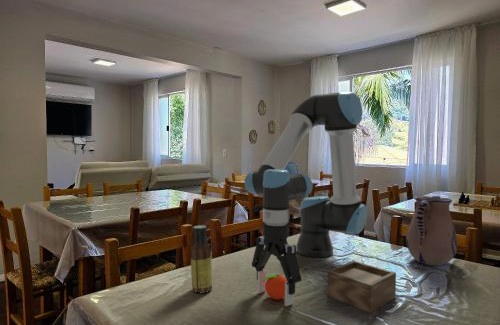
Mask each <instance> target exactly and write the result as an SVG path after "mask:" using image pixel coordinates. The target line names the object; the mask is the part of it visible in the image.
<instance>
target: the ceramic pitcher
mask: <svg viewBox="0 0 500 325" xmlns="http://www.w3.org/2000/svg"><path fill="white" fill-rule="evenodd" d="M413 199H414V200H415V202H416V208H415V209H414V213H413V216H412V219H411V221H410V224H409V225H408V226H409V227H408V230H407V231H406V237H405V242H406V247H407V249H408V252H409V254H410V255H411V256H412V258H414V259H415V261H416V262H418V263H419V264H424V265H427V266H443V265H445V264H448V263H449V262H451V261H452V260H453V259H454V258H455V256H456V254H457V252H458V238H457V232H456V228H455V225H454V223H453V222H454V221H453V219H452V214H451V212H450V205H451V204H452V202H453V200H452V199H451V198H447V197H441V196H435V195H432V196H427V195H414V196H413Z"/></svg>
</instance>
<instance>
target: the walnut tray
mask: <svg viewBox="0 0 500 325" xmlns="http://www.w3.org/2000/svg"><path fill="white" fill-rule="evenodd" d="M396 281H397V272H396V271H395V272H394V271H391V270H388V269H385V268H382V267H381V268H380V267H377V266H374V265H370V264H367V263H363V262H360V261H357V260H352V261H349V262H346V263H345V264H341V265H339V266H337V267H334V268H332V269H330V270H327V290H326V291H327V292H326V293H327V295H326V296H327V297H330V298H333V299H334V300H337V301H339V302H342V303H344V304H348V305H350V306H353V307H355V308H357V309H360V310H363V311H365V312H367V313H370V314H371V313H373V312H375V311H376V310H377V309H380V308H381V307H383V306H384V305H386V304H388V303H389V302H390V301H392V300H394V299H395V298H396V288H397V287H396V285H397V283H396Z"/></svg>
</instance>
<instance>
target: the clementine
mask: <svg viewBox="0 0 500 325" xmlns="http://www.w3.org/2000/svg"><path fill="white" fill-rule="evenodd" d="M265 280H266V284H265V289H266V291H265V292H266V294H267V296H269V297H270V298H271V299H273V300H283V298H284V299H285V282H287V279H286V277H285V276H283V275H281V274H277V273H276V274H271V275H268V276H266V278H265V279H264V281H265ZM264 281H263V282H264Z"/></svg>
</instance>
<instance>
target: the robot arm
mask: <svg viewBox="0 0 500 325" xmlns="http://www.w3.org/2000/svg"><path fill="white" fill-rule="evenodd" d="M362 119H363V105H362V102H361V100H360V98H359V96H358V95H357V93H354V92H353V91H339V92H332V93H330V92H329V93H323V94H320V93H319V94H315V95H312V96H310V97H307V98H306V99H304V101H302V102H300V104H299V105H298V106H296V108H295V109H294V110H293V112H292V113H291V114H290V116H289V118H288V124H287V125H286V127H285V129H284V130H283V131H282V133H281V134H280V136H279V138H278V139H277V141H276V142H275V144H273V147H272V148H271V150H270V151H269V153H268V154H267V156H266V157H265V158H264V160H263V162H262V163H261V164H260V167H259V168H258V169H257V171H255V170H254V171H250V172H248V173H247V174H246V175H245V178H244V187H245V189H246V191H247V192H248V193H250V194H253V195H257V196H260V195H262V200H263V202H262V204H263V205H262V222H263V224H262V236H258V237H256V240H255V241H256V246H255V250H254V253H253V258H252V262H251V268H255V270H256V281H257V294H262V293H264V291H265V292H266V289H265V284H266V281H267V279H266V280H265V281H264V279H265V278H267V270H266V269H265V268H266V265H267V263H268V262H269V260H270V258H271V255H273V256H275V257H276V259H277V260H278V261H279V264H280V267H281V269H282V271H283V273H284V277H285V278H286V280H287V282H285V297H284V306H285V307H288V306H291V305H293V304H294V294H295V293H296V283H299V282H301V281H302V276H301V271H300V267H299V261H298V257H297V254H299V255H301V256H304V257H311V258H325V257H330V256H333V253H334V247H333V245H332V241H331V237H330V231H333V232H338V233H343V234H344V233H345V234H347V235H349V234H351V235H358V234H360V233H361V232H362V231H363V229H364V228H365V226H366V223H367V219H368V208H367V206H366V204H364V203H361V202H362V198H361V197H360V196H359V195H358V194H357V185H356V184H357V183H356V182H357V181H356V169H355V168H356V167H355V165H356V164H355V148H354V147H355V146H354V132H355V131H356V130H357V129H358V126H357V125H358V124H360V123H361V122H362ZM316 126H324V131H325V132H326V133H327V134H328V136H329V149H330V150H329V151H330V164H331V165H330V166H331V167H330V168H331V179H332V180H331V182H332V192H333V195H331V197H329V196H326V195H322V196H311V197H308V196H309V195H310V194H311V192H312V190H313V181H312V180H311V178H310V177H309V176H308V175H307V174H304V173H295V174H293V173H291V174H290V171H289V170H288V169H286V167H287V165H288V163H289V162H290V161H291V159H292V157H293V155H294V154H295V152H296V151H297V149H298V147H299V145H300V144H301V142H302V141H303V140H304V138H305V136H306V134H308V133H309V132H311V131H312V129H313V128H314V127H316ZM298 199H302V200H301V204H300V235H299V238H298V240H297V243H296V244H292V245H291V244H288V237H289V230H290V228H289V227H290V226H289V224H288V223H289V222H290V206H289V205H290V201H292V200H298ZM263 281H264V282H263Z"/></svg>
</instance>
